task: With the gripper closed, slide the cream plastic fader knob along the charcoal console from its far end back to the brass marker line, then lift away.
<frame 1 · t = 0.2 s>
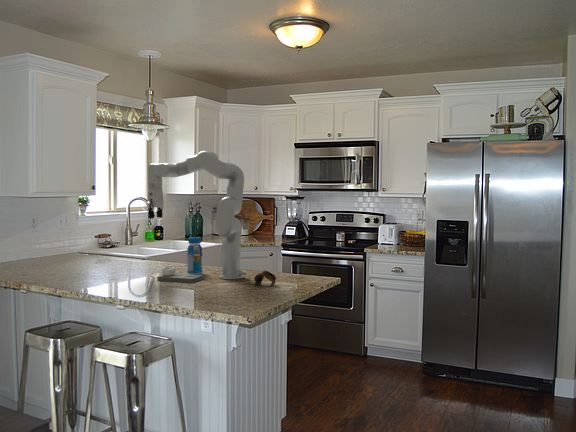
hand: (155, 217, 284), 31 cm above the counter, fingers open, 9 cm apart
console: (180, 279, 266), on the counter
blue lidded canister: (194, 274, 285), on the counter
fader knob: (168, 271, 268), point 4 cm above the counter, slide at 14.0 cm
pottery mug: (263, 286, 251), on the counter
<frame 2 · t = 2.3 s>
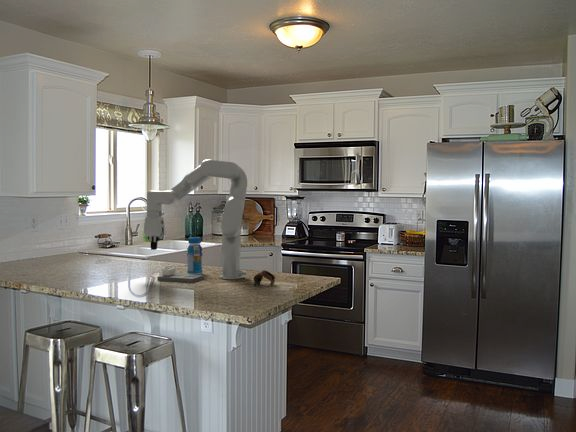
hand: (153, 249, 270), 15 cm above the counter, fingers closed
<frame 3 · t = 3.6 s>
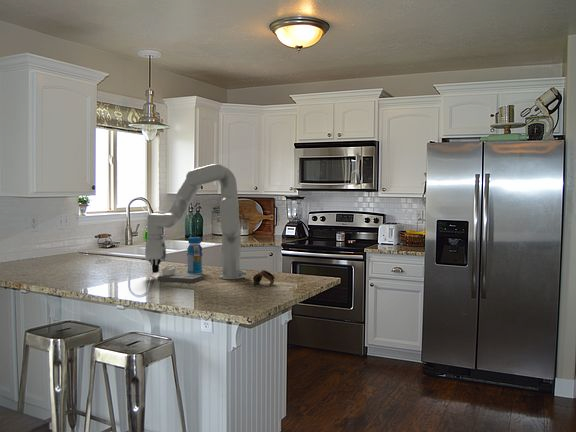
hand: (155, 272, 271), 3 cm above the counter, fingers closed
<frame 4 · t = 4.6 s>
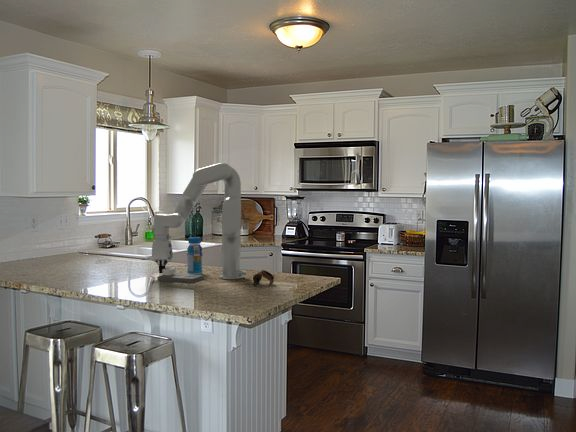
hand: (162, 272, 270), 3 cm above the counter, fingers closed
fader knob: (168, 271, 268), point 4 cm above the counter, slide at 13.9 cm, touching gripper
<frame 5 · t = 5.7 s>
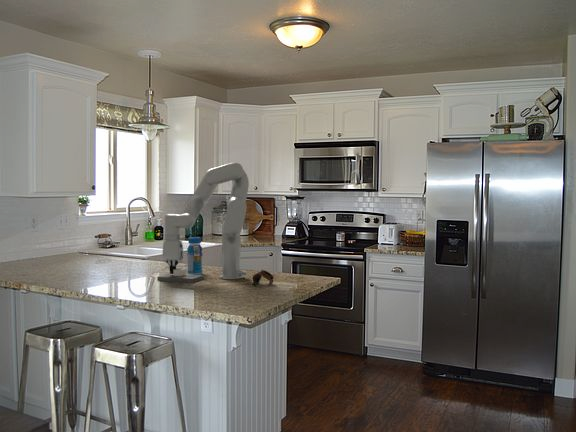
hand: (172, 273, 268), 3 cm above the counter, fingers closed
fader knob: (179, 271, 266), point 4 cm above the counter, slide at 7.5 cm, touching gripper
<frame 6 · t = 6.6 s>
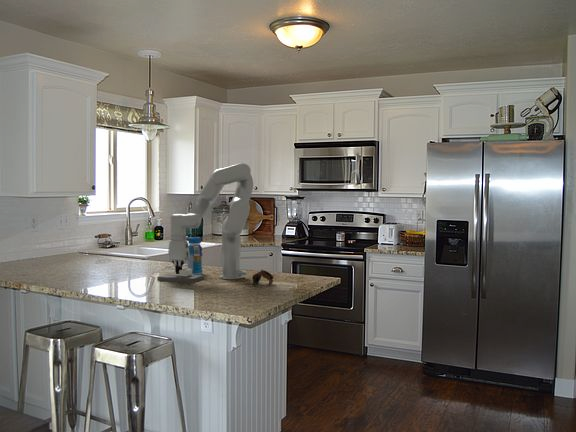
hand: (178, 273, 267), 3 cm above the counter, fingers closed
fader knob: (185, 271, 265), point 4 cm above the counter, slide at 4.2 cm, touching gripper
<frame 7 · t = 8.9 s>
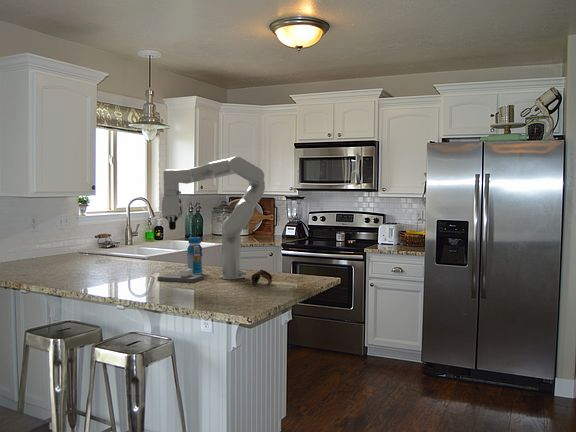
hand: (172, 229, 267), 26 cm above the counter, fingers closed
fader knob: (186, 272, 265), point 4 cm above the counter, slide at 4.0 cm
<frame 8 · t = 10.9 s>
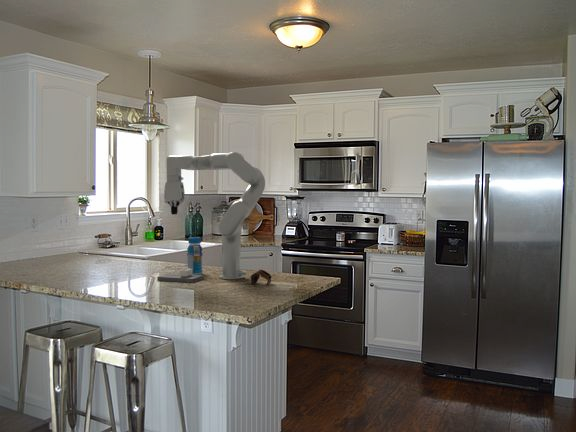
hand: (174, 214, 275), 33 cm above the counter, fingers closed
at the end: fader knob slide at 4.0 cm; blue lidded canister moved 0.2 cm from its start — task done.
